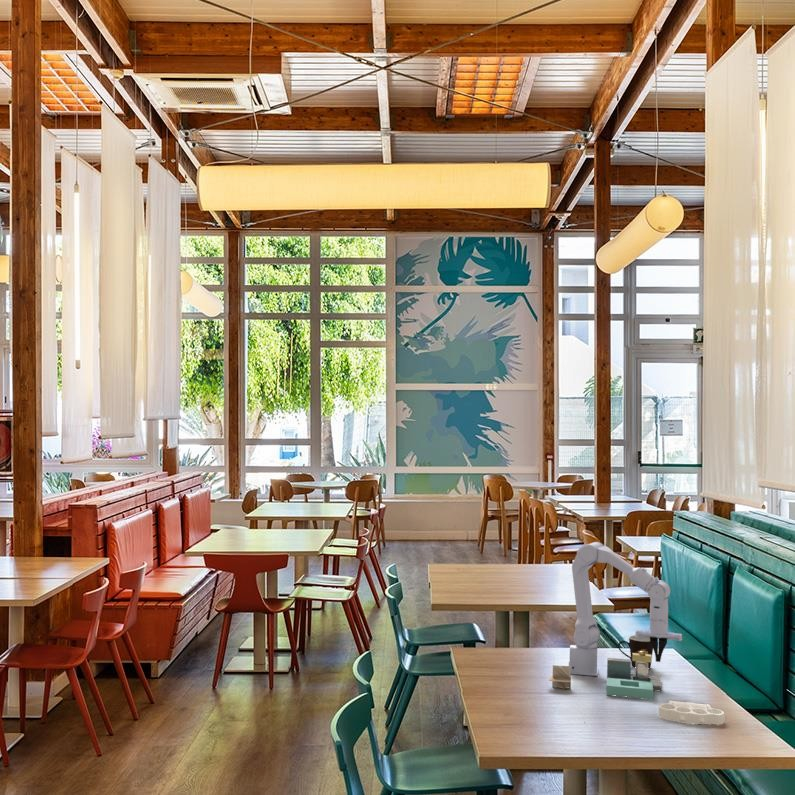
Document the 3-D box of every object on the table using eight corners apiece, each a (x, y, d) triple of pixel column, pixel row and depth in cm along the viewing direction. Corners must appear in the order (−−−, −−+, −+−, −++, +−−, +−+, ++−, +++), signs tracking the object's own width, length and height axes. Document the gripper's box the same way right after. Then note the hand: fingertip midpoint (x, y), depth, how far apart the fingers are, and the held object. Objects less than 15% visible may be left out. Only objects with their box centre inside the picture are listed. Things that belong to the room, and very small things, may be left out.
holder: (606, 695, 279) (606, 685, 279) (606, 687, 287) (607, 677, 288) (653, 699, 275) (653, 689, 275) (651, 691, 284) (652, 681, 284)
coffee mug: (656, 666, 314) (657, 637, 314) (649, 671, 306) (650, 642, 307) (624, 660, 320) (624, 632, 320) (616, 666, 313) (617, 637, 313)
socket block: (606, 686, 288) (607, 663, 289) (607, 676, 300) (607, 654, 300) (661, 691, 284) (661, 668, 285) (659, 680, 296) (660, 658, 296)
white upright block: (635, 685, 290) (635, 663, 290) (635, 682, 294) (635, 660, 294) (648, 686, 289) (648, 664, 289) (647, 683, 293) (648, 661, 293)
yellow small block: (632, 660, 291) (632, 651, 291) (632, 659, 294) (632, 649, 294) (651, 662, 290) (651, 653, 290) (651, 660, 292) (651, 651, 292)
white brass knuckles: (720, 714, 264) (726, 731, 250) (657, 708, 269) (659, 723, 255) (720, 703, 264) (726, 718, 250) (657, 696, 269) (659, 712, 255)
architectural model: (571, 692, 282) (571, 669, 282) (549, 691, 283) (549, 667, 283) (570, 689, 286) (570, 666, 286) (548, 688, 286) (548, 665, 286)
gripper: (636, 619, 289) (635, 662, 288) (682, 623, 285) (682, 666, 285) (635, 615, 296) (634, 656, 295) (681, 618, 292) (680, 660, 292)
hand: (657, 661), depth 291 cm, fingers closed
